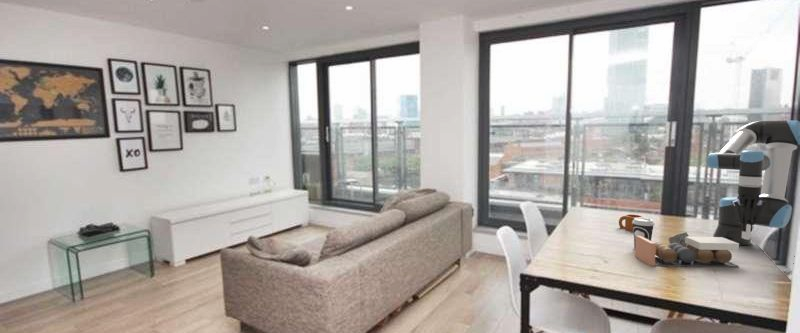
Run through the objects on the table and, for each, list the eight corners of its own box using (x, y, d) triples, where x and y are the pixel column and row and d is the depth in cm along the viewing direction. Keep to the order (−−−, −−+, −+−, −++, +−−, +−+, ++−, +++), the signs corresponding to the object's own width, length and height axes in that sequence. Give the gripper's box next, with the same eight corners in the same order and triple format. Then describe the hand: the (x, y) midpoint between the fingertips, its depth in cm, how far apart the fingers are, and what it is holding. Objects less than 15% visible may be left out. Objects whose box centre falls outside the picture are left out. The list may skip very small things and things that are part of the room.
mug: (620, 227, 239) (621, 212, 238) (643, 230, 231) (644, 215, 230) (617, 230, 232) (617, 215, 231) (640, 233, 224) (641, 218, 223)
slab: (721, 243, 181) (722, 237, 180) (738, 250, 171) (739, 243, 170) (684, 242, 182) (685, 236, 182) (699, 249, 172) (699, 242, 172)
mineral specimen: (666, 247, 198) (667, 227, 198) (686, 249, 194) (687, 229, 193) (668, 252, 190) (669, 232, 189) (688, 255, 186) (689, 234, 185)
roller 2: (666, 255, 183) (667, 242, 183) (680, 255, 183) (681, 243, 182) (680, 262, 173) (681, 249, 173) (694, 262, 173) (695, 249, 172)
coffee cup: (656, 252, 191) (658, 222, 189) (635, 251, 193) (636, 221, 191) (648, 246, 200) (649, 217, 199) (628, 245, 202) (629, 217, 201)
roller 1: (650, 255, 184) (650, 242, 183) (663, 255, 183) (664, 242, 183) (662, 262, 174) (663, 249, 173) (676, 262, 173) (677, 249, 173)
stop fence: (639, 256, 186) (640, 235, 185) (654, 265, 173) (655, 243, 172) (634, 256, 186) (635, 235, 185) (650, 265, 173) (651, 243, 172)
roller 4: (701, 255, 182) (702, 242, 181) (714, 255, 181) (715, 243, 181) (716, 262, 172) (717, 249, 171) (731, 263, 171) (732, 249, 171)
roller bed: (715, 256, 183) (715, 253, 183) (738, 267, 169) (738, 263, 169) (638, 255, 186) (638, 252, 186) (655, 266, 172) (655, 262, 172)
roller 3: (683, 255, 182) (684, 242, 182) (697, 255, 182) (698, 243, 181) (698, 262, 173) (699, 249, 172) (712, 263, 172) (714, 249, 172)
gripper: (758, 184, 176) (754, 236, 178) (727, 184, 177) (723, 236, 179) (772, 187, 168) (768, 241, 170) (740, 186, 169) (736, 240, 171)
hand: (745, 238), depth 175 cm, fingers closed
